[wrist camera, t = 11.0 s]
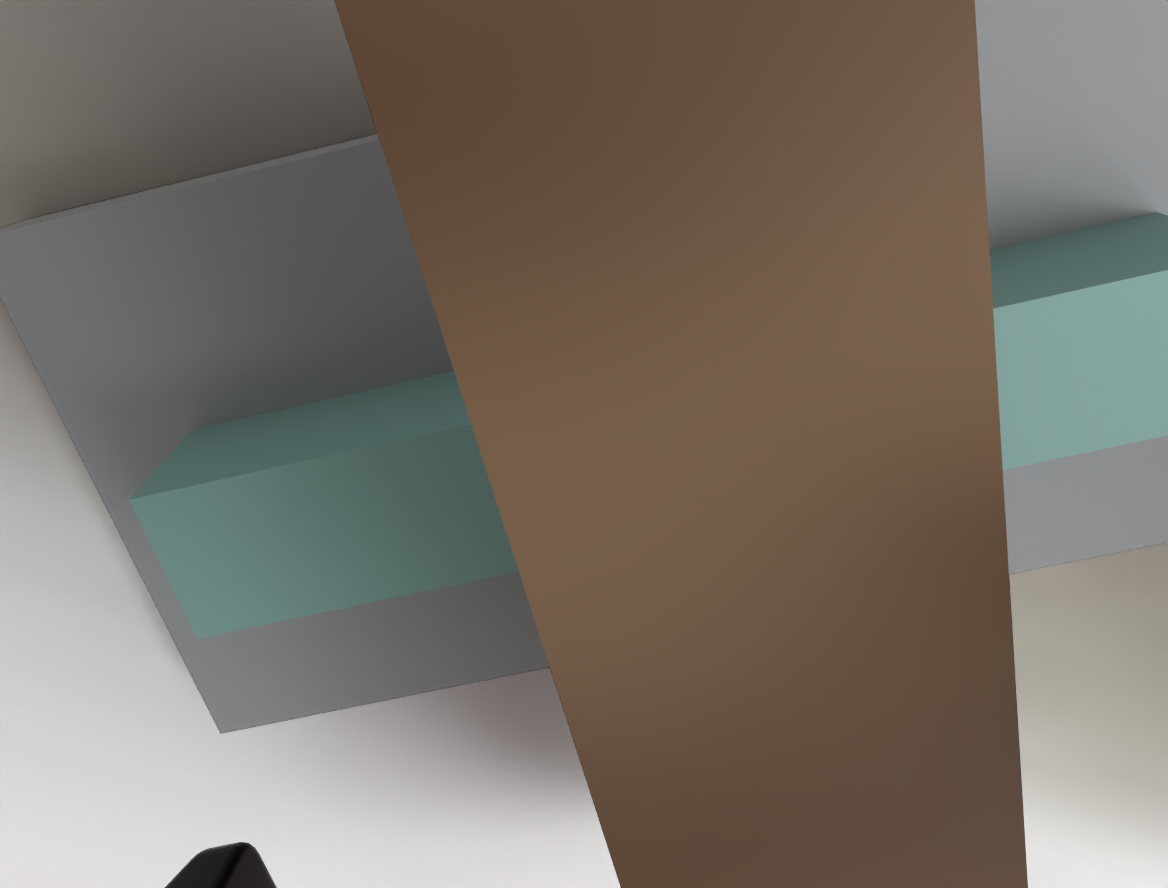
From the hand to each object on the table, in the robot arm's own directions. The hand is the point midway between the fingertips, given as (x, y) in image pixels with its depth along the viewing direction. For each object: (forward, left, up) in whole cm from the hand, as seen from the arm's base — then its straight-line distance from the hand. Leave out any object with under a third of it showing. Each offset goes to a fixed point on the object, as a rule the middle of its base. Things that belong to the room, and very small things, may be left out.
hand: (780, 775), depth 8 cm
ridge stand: (0, 0, -10) cm, 10 cm away
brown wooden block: (0, 0, -6) cm, 6 cm away
